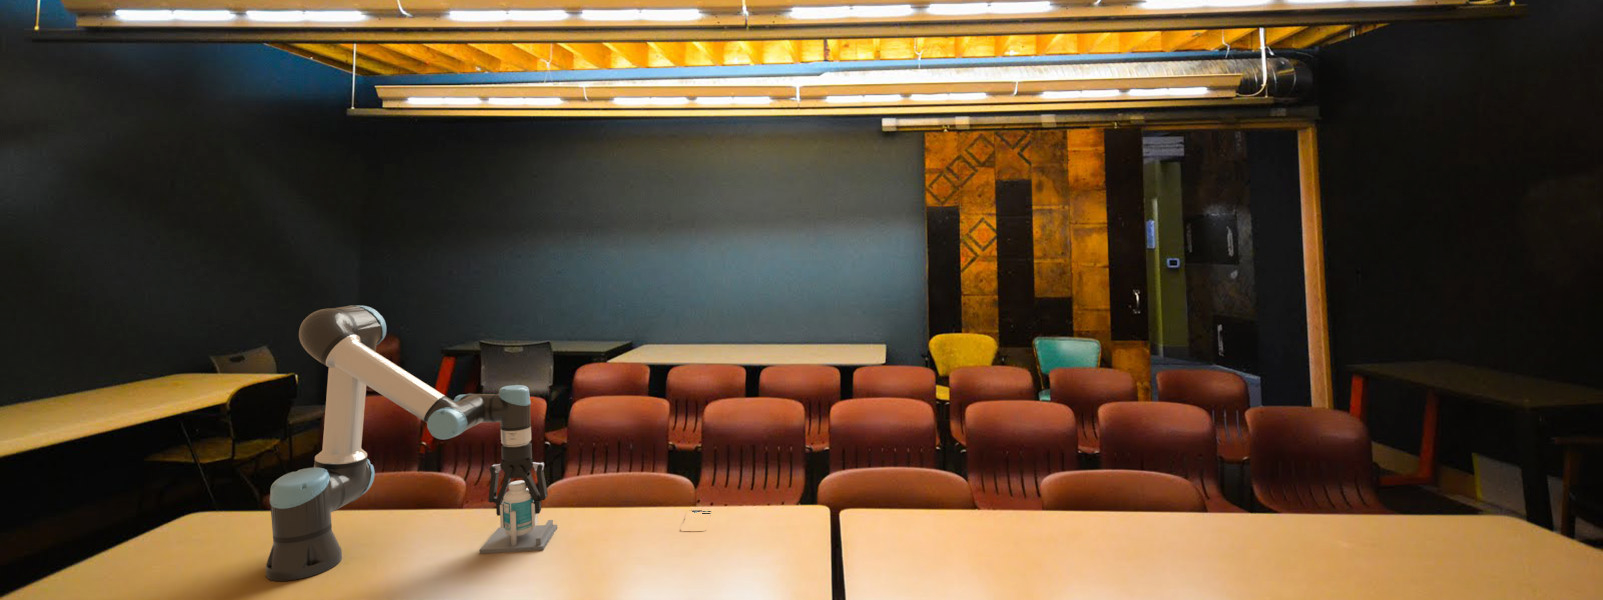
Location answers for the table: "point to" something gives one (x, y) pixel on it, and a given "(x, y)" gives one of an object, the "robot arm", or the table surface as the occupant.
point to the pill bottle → (518, 508)
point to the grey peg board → (519, 538)
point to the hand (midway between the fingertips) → (519, 525)
